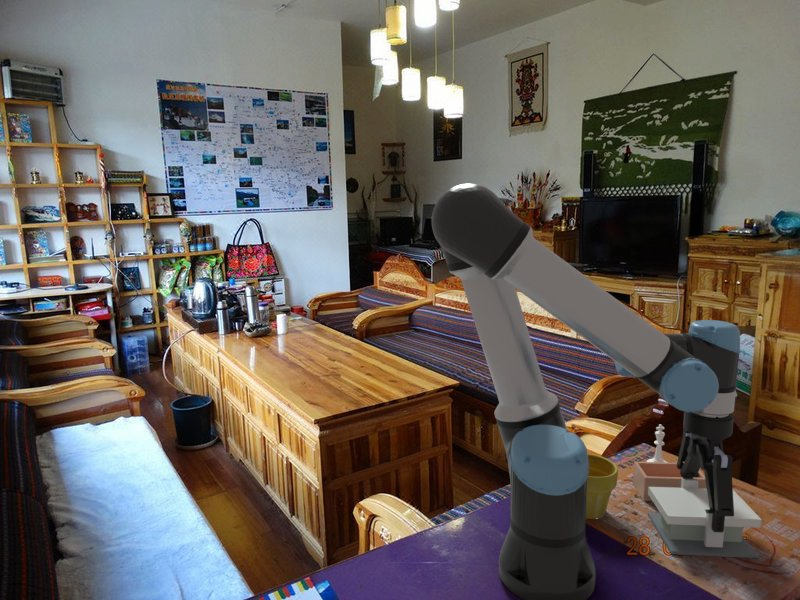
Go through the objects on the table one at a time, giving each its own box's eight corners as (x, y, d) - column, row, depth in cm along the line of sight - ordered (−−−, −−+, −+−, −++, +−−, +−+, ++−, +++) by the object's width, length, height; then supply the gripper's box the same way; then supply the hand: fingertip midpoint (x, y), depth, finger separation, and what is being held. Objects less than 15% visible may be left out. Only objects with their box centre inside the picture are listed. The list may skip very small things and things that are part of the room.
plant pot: (620, 505, 110) (623, 459, 108) (609, 531, 101) (611, 482, 100) (568, 492, 115) (569, 448, 114) (553, 515, 107) (554, 468, 105)
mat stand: (671, 554, 94) (672, 527, 93) (647, 515, 106) (649, 491, 105) (758, 558, 93) (760, 531, 92) (724, 518, 105) (726, 493, 104)
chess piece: (641, 462, 128) (644, 421, 126) (661, 460, 128) (664, 419, 127) (653, 472, 123) (656, 429, 121) (674, 470, 124) (677, 428, 122)
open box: (643, 500, 111) (644, 477, 111) (632, 483, 118) (634, 461, 117) (706, 502, 110) (708, 479, 109) (691, 485, 117) (693, 463, 116)
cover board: (667, 524, 95) (668, 516, 94) (648, 494, 104) (648, 486, 104) (760, 527, 93) (761, 519, 93) (731, 496, 103) (732, 489, 102)
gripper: (767, 437, 84) (755, 569, 88) (703, 388, 106) (695, 495, 110) (715, 436, 85) (705, 567, 89) (662, 388, 107) (656, 494, 111)
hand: (699, 527), depth 99 cm, fingers closed on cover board, 10 cm apart
